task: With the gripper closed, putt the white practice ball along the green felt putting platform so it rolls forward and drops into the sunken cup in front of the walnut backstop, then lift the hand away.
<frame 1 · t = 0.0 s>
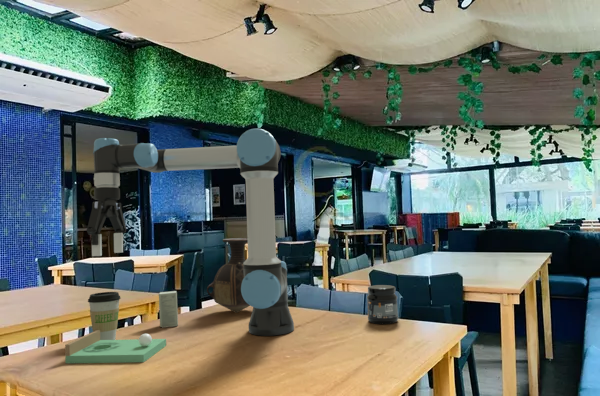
hand: (108, 254, 142), 28 cm above the table, fingers open, 13 cm apart
putting platform: (118, 353, 129), on the table
ball: (145, 340, 129), point 4 cm above the table, touching putting platform
coffee cup: (105, 341, 145), on the table
skincare box: (168, 326, 163), on the table
supplement container: (383, 322, 157), on the table
vase: (238, 313, 182), on the table
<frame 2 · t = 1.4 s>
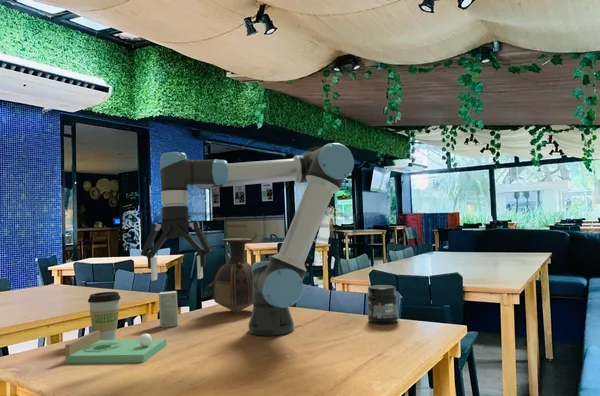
hand: (177, 279, 130), 21 cm above the table, fingers open, 13 cm apart
nothing on the table moved.
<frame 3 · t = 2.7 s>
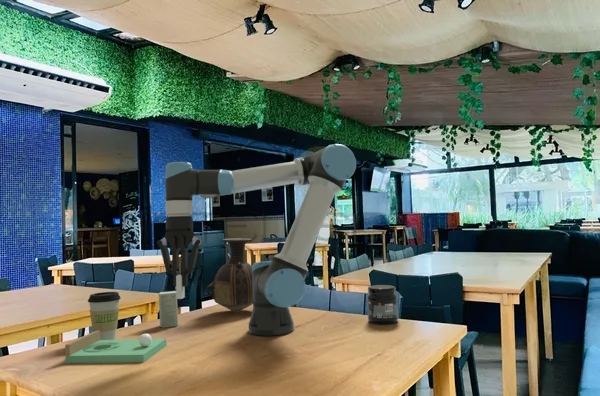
hand: (180, 298, 128), 15 cm above the table, fingers closed
nothing on the table moved.
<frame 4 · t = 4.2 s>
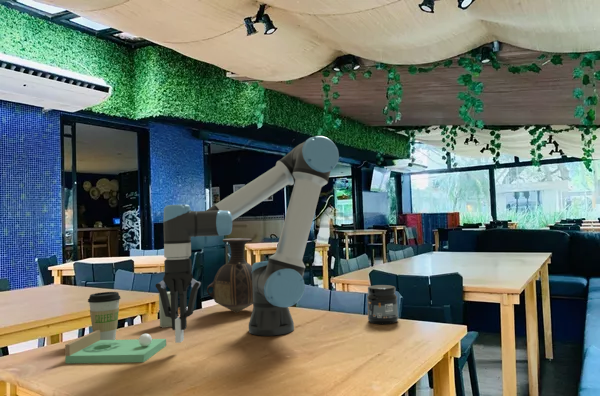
hand: (179, 341, 128), 3 cm above the table, fingers closed
nothing on the table moved.
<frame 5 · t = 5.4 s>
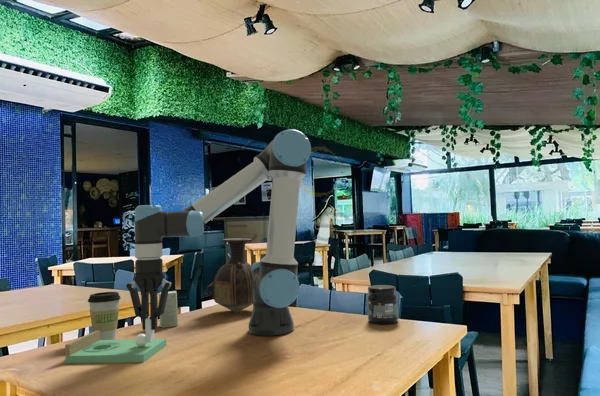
hand: (150, 341, 128), 3 cm above the table, fingers closed
ball: (141, 340, 129), point 4 cm above the table, tilted 32°, touching putting platform
everything else where it was.
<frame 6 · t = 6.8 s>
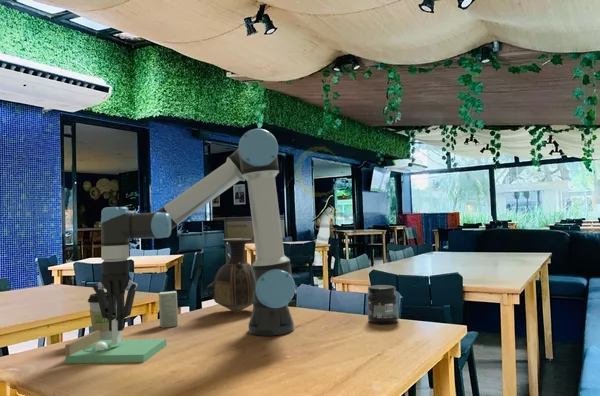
hand: (116, 342, 129), 3 cm above the table, fingers closed
ball: (101, 348, 129), point 2 cm above the table, tilted 74°
everything else where it was.
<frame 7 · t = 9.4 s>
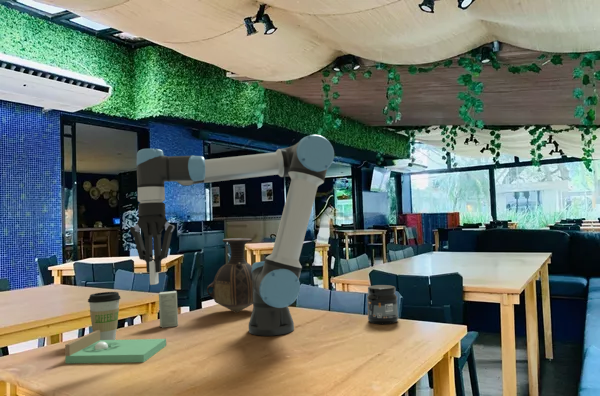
hand: (154, 283, 129), 20 cm above the table, fingers closed
nothing on the table moved.
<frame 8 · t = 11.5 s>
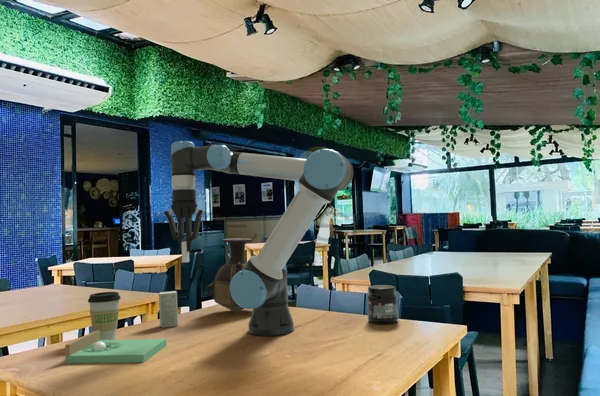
hand: (185, 261, 145), 24 cm above the table, fingers closed
ball: (99, 348, 130), point 2 cm above the table, tilted 91°
everything else where it was.
at the end: ball 0.7 cm from the target spot in the putting platform, point 1.8 cm above the putting platform's base; ball touching table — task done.
